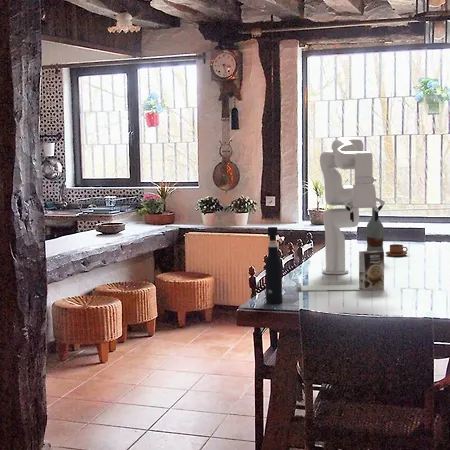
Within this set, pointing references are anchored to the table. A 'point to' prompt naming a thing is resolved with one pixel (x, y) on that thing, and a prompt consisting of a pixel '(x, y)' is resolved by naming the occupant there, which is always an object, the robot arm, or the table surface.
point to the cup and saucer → (397, 250)
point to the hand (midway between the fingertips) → (364, 221)
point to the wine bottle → (273, 270)
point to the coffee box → (371, 270)
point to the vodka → (374, 234)
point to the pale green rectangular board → (327, 287)
